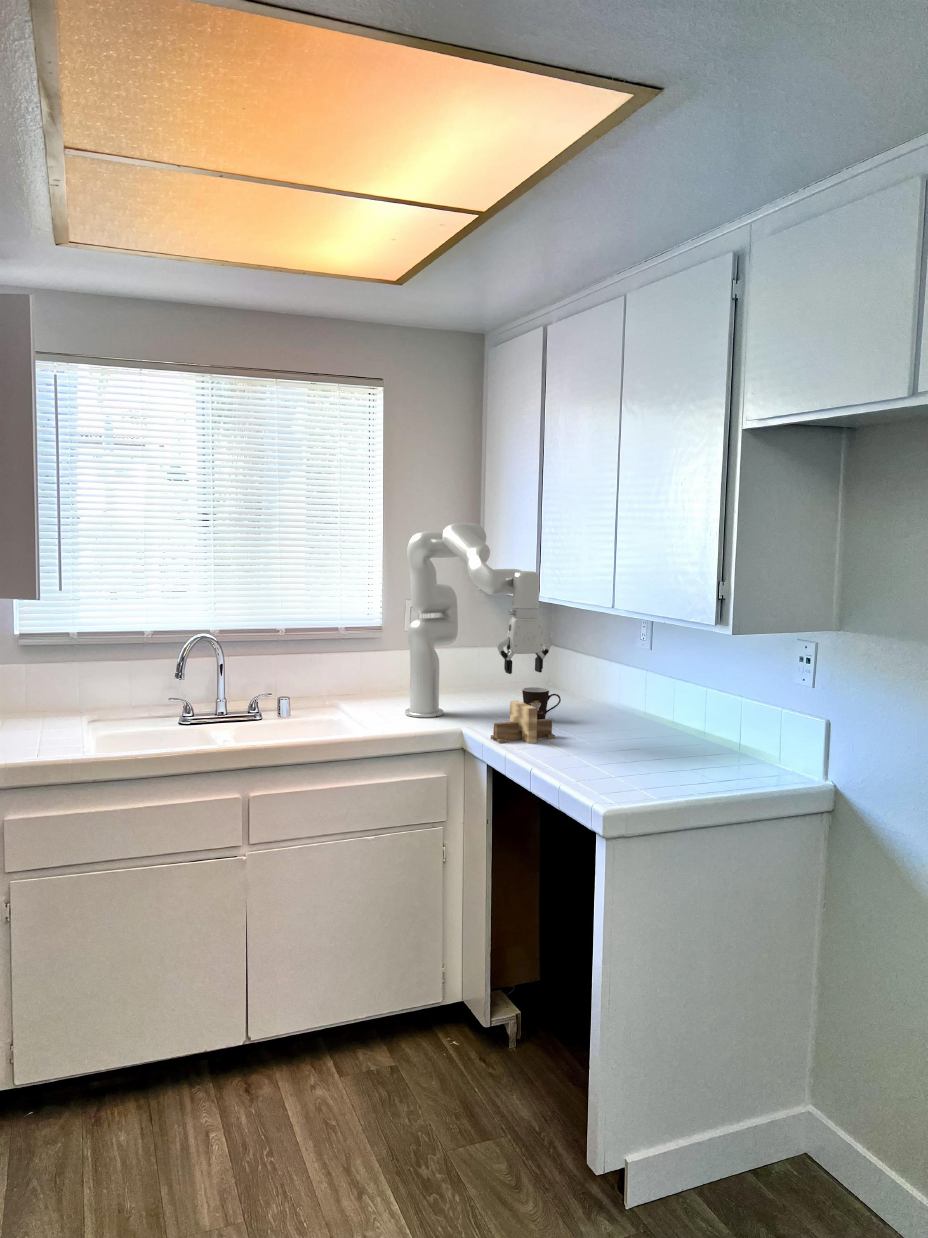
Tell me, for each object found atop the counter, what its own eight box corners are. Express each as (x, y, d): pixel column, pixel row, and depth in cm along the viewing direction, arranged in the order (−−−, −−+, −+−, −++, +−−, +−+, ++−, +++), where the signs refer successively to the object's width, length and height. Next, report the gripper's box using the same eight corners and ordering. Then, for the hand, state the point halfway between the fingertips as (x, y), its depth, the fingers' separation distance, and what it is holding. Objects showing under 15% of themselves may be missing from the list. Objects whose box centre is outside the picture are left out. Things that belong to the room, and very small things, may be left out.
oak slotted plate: (509, 734, 270) (510, 701, 269) (517, 733, 271) (518, 700, 270) (528, 743, 259) (529, 708, 258) (536, 742, 261) (537, 708, 260)
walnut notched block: (490, 738, 265) (490, 721, 264) (545, 734, 272) (545, 717, 271) (499, 743, 259) (499, 726, 259) (554, 738, 266) (555, 721, 266)
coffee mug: (517, 721, 289) (517, 690, 288) (528, 716, 296) (528, 686, 295) (551, 725, 283) (551, 694, 282) (561, 720, 291) (562, 689, 290)
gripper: (503, 616, 255) (502, 676, 257) (557, 614, 262) (555, 673, 264) (492, 613, 262) (491, 671, 264) (545, 612, 269) (543, 669, 270)
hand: (523, 672), depth 264 cm, fingers open, 9 cm apart
